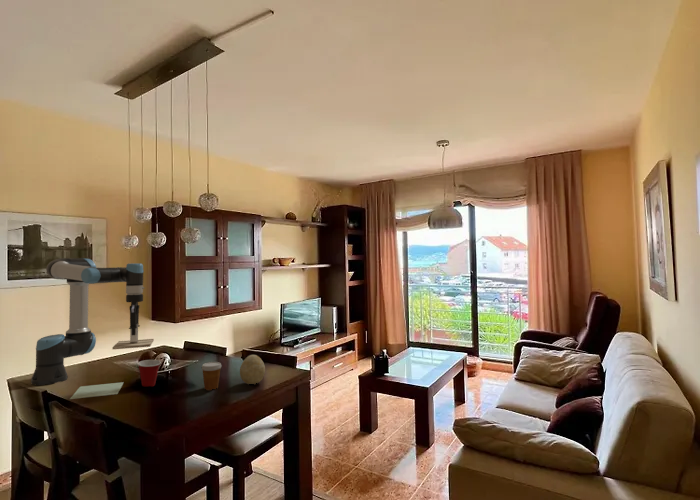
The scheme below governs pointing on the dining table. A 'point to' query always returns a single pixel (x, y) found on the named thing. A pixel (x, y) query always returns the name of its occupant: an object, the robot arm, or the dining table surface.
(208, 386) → the disposable coffee cup
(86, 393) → the mat
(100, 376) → the dining table surface
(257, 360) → the fossilized egg
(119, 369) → the dining table surface
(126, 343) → the cover
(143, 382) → the plastic cup
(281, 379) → the dining table surface
